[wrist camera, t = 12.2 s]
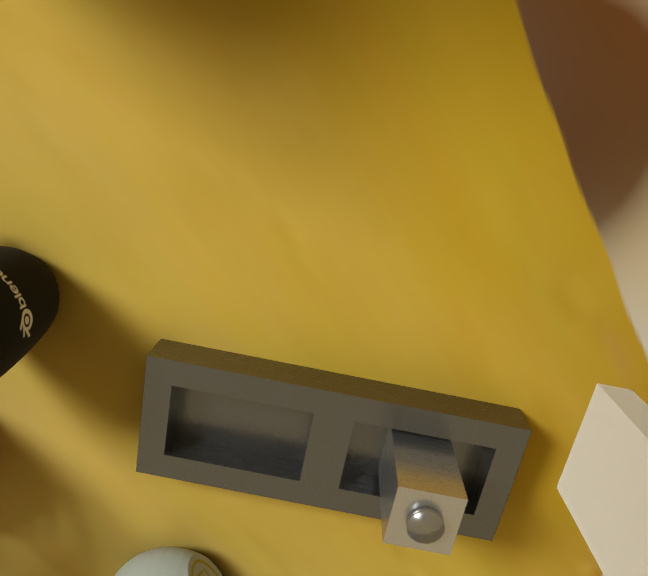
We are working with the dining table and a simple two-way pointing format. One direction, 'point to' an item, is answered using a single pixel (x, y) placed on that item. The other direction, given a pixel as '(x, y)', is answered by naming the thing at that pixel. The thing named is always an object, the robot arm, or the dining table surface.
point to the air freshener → (169, 563)
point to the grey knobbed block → (420, 492)
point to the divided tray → (313, 432)
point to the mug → (23, 304)
